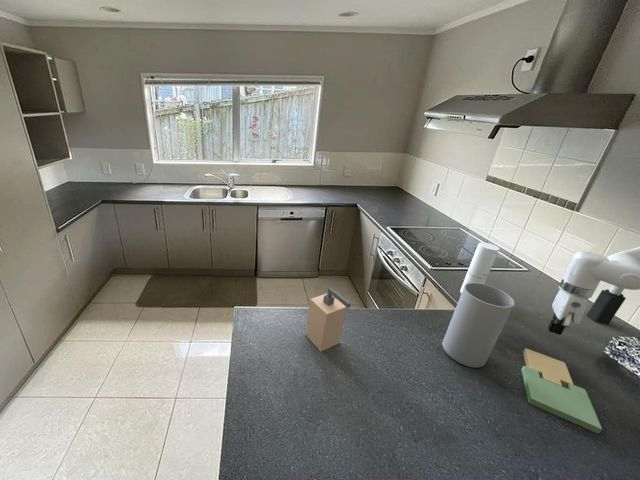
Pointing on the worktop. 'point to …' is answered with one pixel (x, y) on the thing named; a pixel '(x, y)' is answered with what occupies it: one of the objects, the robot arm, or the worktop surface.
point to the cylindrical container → (481, 264)
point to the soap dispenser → (326, 319)
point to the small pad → (548, 367)
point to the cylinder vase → (476, 324)
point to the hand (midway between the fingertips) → (554, 331)
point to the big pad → (560, 400)
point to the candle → (606, 305)
